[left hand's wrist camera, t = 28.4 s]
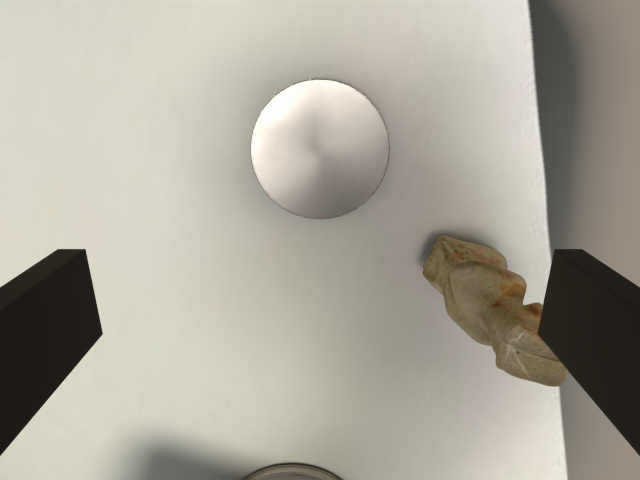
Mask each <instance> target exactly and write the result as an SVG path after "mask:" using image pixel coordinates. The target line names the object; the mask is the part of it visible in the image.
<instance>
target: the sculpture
mask: <svg viewBox="0 0 640 480" xmlns="http://www.w3.org/2000/svg"><path fill="white" fill-rule="evenodd" d="M433 248H434V249H433V251H432V253H431V254H430V256H428V257H427V258H426V261H425V263H424V265H423V268H424V270H423V275H424V276H425V278H426V279H427V280H428V281H429V282H430V283H431V284H432V285H433V286H434V287H435V288H436V289H437V290H438V291H440V292H441V293H442V294H443V295H444V300H445V306H446V310H447V313H448V315H449V316H450V317H451V318H452V319H453V320H454V321H455V322H456V323H457V324H458V325H459V326H460V327H461V328H462V329H463V330H464V331H465V332H466V333H467V334H468V335H469V336H470V337H471V338H472V339H474V340H475V341H477V342H478V343H481V344H484V345H492V348H493V350H494V352H495V354H496V366H497V367H498V368H499V369H502V370H503V371H505V372H507V373H508V374H510V375H512V376H515V377H518V378H521V379H525V380H529V381H533V382H536V383H540V384H543V385H546V386H560V385H562V383H563V382H564V381H565V380H566V379H567V377H568V373H569V371H568V370H567V369H566V368H565V366H564V365H563V364H562V363H561V362H560V360H559V359H558V358H557V357H556V356H555V354H554V353H553V352H552V351H551V350H550V349H549V347H548V346H547V345H546V344H545V343H544V341H543V340H542V339H541V338H540V337H539V335H538V334H537V333H538V328H539V323H540V318H541V313H542V308H543V305H542V304H540V303H532V304H529V305H523V299H524V295H525V292H526V282H525V280H524V278H522V277H521V276H520V275H518V274H516V273H513V272H511V271H509V270H506V269H507V262H506V259H505V257H504V256H503V255H502V254H501V253H499V252H498V251H496V250H494V249H492V248H490V247H487V246H483V245H480V244H476V243H471V242H466V241H461V240H457V239H454V238H451V237H449V236H446V235H440V236H439V237H438V238H437V240H436V241H435V243H434V245H433Z"/></svg>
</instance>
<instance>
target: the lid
mask: <svg viewBox="0 0 640 480" xmlns="http://www.w3.org/2000/svg"><path fill="white" fill-rule="evenodd" d="M261 111H262V112H261V113H260V115H259V117H258V119H257V121H256V124H255V126H254V127H253V134H252V138H251V146H250V148H251V159H252V165H253V169H254V172H255V175H256V177H257V179H258V181H259V183H260V185H261V186H262V188H263V190H264V191H265V192H266V193H267V195H268V196H269V197H270V198H271V199H272V200H273V201H274V202H275V203H277V204H278V205H279V206H281V207H282V208H284V209H285V210H287V211H289V212H291V213H293V214H296V215H298V216H302V217H306V218H312V219H327V218H334V217H338V216H341V215H344V214H347V213H349V212H351V211H353V210H355V209H356V208H358V207H359V206H361V205H362V204H363V203H365V202H366V201H367V200H368V199H369V198H370V197H371V196H372V195H373V193H374V192H375V191H376V189H377V188H378V186H379V185H380V183H381V181H382V179H383V177H384V175H385V172H386V169H387V165H388V160H389V148H390V147H389V139H388V134H387V128H386V127H385V124H384V121H383V119H382V117H381V115H380V113H379V110H377V109H376V107H375V106H374V105H373V104H372V103H371V101H370V100H369V99H368V98H367V97H366V95H363V94H362V93H361V92H359V91H357V90H356V89H354V88H353V87H350V85H349V84H348V85H346V84H344V83H341V82H337V81H333V80H331V79H329V80H327V79H314V80H312V79H310V80H307V81H303V82H299V83H296V84H294V85H293V84H291V86H289V87H287V88H286V89H284V90H282V91H281V92H279V93H278V94H275V95H274V97H273V98H272V99H271V100H270V101H269V102H268V103H267V105H266V106H265V107H264V109H262V110H261Z"/></svg>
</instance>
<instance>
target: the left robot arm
mask: <svg viewBox="0 0 640 480" xmlns="http://www.w3.org/2000/svg"><path fill="white" fill-rule="evenodd" d="M102 334H103V333H102V328H101V323H100V318H99V313H98V308H97V304H96V299H95V294H94V289H93V284H92V279H91V274H90V269H89V265H88V260H87V255H86V250H85V249H58V250H56V251H55V252H53V253H52V254H50V255H49V256H47V257H46V258H44V259H43V260H41V261H40V262H38V263H36V264H35V265H33V266H32V267H30V268H29V269H27V270H26V271H24V272H23V273H21V274H20V275H18V276H17V277H15V278H14V279H12V280H11V281H9V282H8V283H6V284H5V285H3V286H2V287H0V456H1V454H2V453H3V452H4V451H5V450H6V448H7V447H8V446H9V445H10V444H11V442H12V441H13V440H14V439H15V438H16V437H17V435H18V434H19V433H20V432H21V431H22V429H23V428H24V427H25V426H26V425H27V423H28V422H29V421H30V420H31V419H32V417H33V416H34V415H35V414H36V413H37V412H38V410H39V409H40V408H41V407H42V406H43V404H44V403H45V402H46V401H47V400H48V398H49V397H50V396H51V395H52V394H53V393H54V391H55V390H56V389H57V388H58V387H59V385H60V384H61V383H62V382H63V381H64V379H65V378H66V377H67V376H68V375H69V373H70V372H71V371H72V370H73V369H74V368H75V366H76V365H77V364H78V363H79V362H80V360H81V359H82V358H83V357H84V356H85V354H86V353H87V352H88V351H89V350H90V349H91V347H92V346H93V345H94V344H95V343H96V341H97V340H98V339H99V338H100V337H101V335H102ZM537 334H538V335H539V337H540V338H541V339H542V340H543V341H544V343H545V344H546V345H547V346H548V347H549V349H550V350H551V351H552V352H553V353H554V354H555V356H556V357H557V358H558V359H559V360H560V362H561V363H562V364H563V365H564V366H565V368H566V369H567V370H568V371H569V372H570V373H571V375H572V376H573V377H574V378H575V379H576V381H577V382H578V383H579V384H580V385H581V387H582V388H583V389H584V390H585V391H586V393H587V394H588V395H589V396H590V397H591V398H592V400H593V401H594V402H595V403H596V404H597V406H598V407H599V408H600V409H601V410H602V411H603V413H604V414H605V415H606V416H607V417H608V419H609V420H610V421H611V422H612V423H613V425H614V426H615V427H616V428H617V429H618V431H619V432H620V433H621V434H622V435H623V436H624V438H625V439H626V440H627V441H628V442H629V444H630V445H631V446H632V447H633V448H634V450H635V451H636V452H637V453H638V454H639V456H640V287H638V286H637V285H635V284H634V283H632V282H631V281H629V280H628V279H626V278H625V277H623V276H622V275H620V274H619V273H617V272H615V271H614V270H613V269H611V268H609V267H608V266H607V265H605V264H603V263H602V262H600V261H599V260H597V259H596V258H594V257H593V256H591V255H590V254H588V253H587V252H585V251H584V250H582V249H555V250H554V255H553V260H552V265H551V269H550V274H549V279H548V284H547V289H546V294H545V299H544V304H543V308H542V313H541V318H540V323H539V328H538V333H537ZM244 480H340V479H338V478H337V477H336V476H334V475H332V474H330V473H328V472H326V471H324V470H321V469H318V468H315V467H311V466H306V465H295V464H289V465H278V466H272V467H269V468H265V469H262V470H260V471H257V472H255V473H253V474H252V475H250V476H248V477H247V478H245V479H244Z"/></svg>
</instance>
